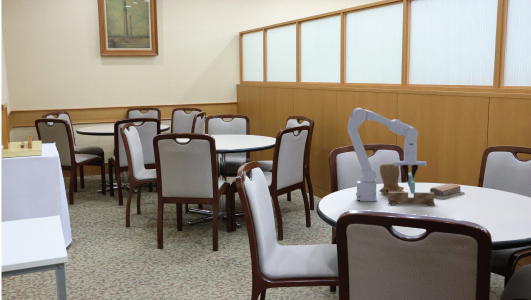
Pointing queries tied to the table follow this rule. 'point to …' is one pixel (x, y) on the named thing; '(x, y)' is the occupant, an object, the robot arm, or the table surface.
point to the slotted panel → (411, 183)
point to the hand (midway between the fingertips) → (409, 180)
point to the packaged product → (446, 191)
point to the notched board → (411, 198)
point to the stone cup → (390, 178)
